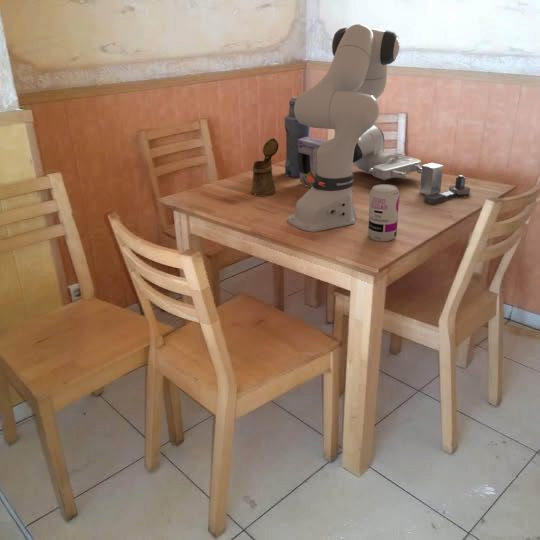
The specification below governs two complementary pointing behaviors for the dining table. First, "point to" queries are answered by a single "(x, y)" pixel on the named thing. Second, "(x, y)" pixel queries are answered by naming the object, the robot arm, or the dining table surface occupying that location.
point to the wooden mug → (264, 171)
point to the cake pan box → (308, 158)
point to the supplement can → (383, 212)
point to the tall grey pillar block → (431, 178)
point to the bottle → (293, 140)
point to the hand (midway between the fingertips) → (413, 173)
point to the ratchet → (450, 192)
